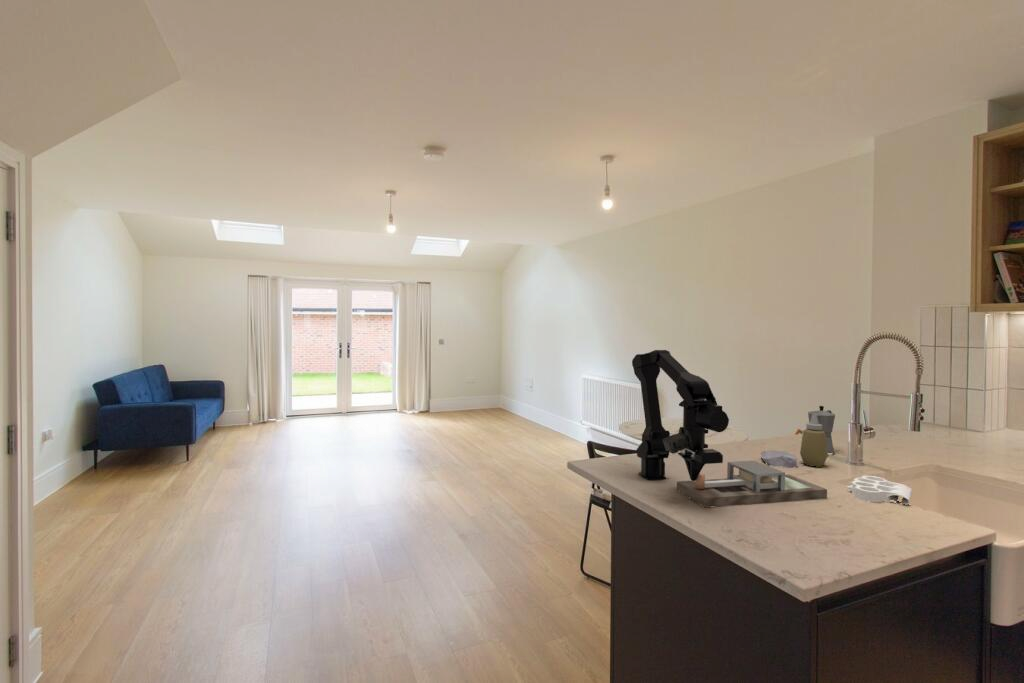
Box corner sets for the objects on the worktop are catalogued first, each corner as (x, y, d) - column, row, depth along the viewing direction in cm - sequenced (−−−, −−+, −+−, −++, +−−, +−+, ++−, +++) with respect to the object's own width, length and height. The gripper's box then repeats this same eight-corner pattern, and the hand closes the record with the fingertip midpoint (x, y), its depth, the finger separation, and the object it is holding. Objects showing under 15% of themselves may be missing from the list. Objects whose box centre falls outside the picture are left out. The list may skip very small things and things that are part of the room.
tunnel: (756, 493, 131) (756, 474, 131) (727, 479, 144) (727, 461, 143) (784, 491, 133) (785, 472, 133) (753, 477, 145) (754, 460, 145)
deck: (704, 507, 128) (705, 498, 127) (676, 489, 141) (676, 481, 141) (826, 498, 135) (827, 489, 135) (788, 482, 149) (789, 474, 149)
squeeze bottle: (826, 464, 169) (828, 413, 169) (827, 469, 162) (828, 416, 162) (800, 460, 174) (801, 411, 173) (799, 466, 167) (800, 414, 166)
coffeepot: (826, 457, 178) (827, 409, 177) (799, 452, 186) (800, 405, 185) (843, 451, 187) (844, 405, 186) (817, 446, 195) (818, 402, 194)
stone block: (769, 472, 166) (800, 468, 164) (766, 458, 166) (797, 454, 164) (758, 464, 178) (787, 460, 176) (755, 451, 178) (784, 447, 176)
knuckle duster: (907, 511, 127) (841, 497, 137) (912, 494, 140) (851, 482, 150) (908, 498, 127) (841, 486, 137) (913, 482, 140) (852, 472, 150)
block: (752, 489, 135) (753, 474, 135) (738, 482, 141) (739, 468, 141) (771, 487, 136) (771, 473, 136) (756, 481, 142) (757, 467, 142)
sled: (705, 492, 131) (705, 479, 130) (688, 483, 139) (688, 470, 139) (779, 487, 135) (779, 474, 135) (758, 478, 143) (758, 466, 143)
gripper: (651, 419, 142) (650, 471, 142) (685, 433, 123) (684, 493, 124) (685, 418, 144) (685, 470, 144) (724, 431, 125) (723, 490, 126)
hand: (693, 480), depth 134 cm, fingers closed, pressing on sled
